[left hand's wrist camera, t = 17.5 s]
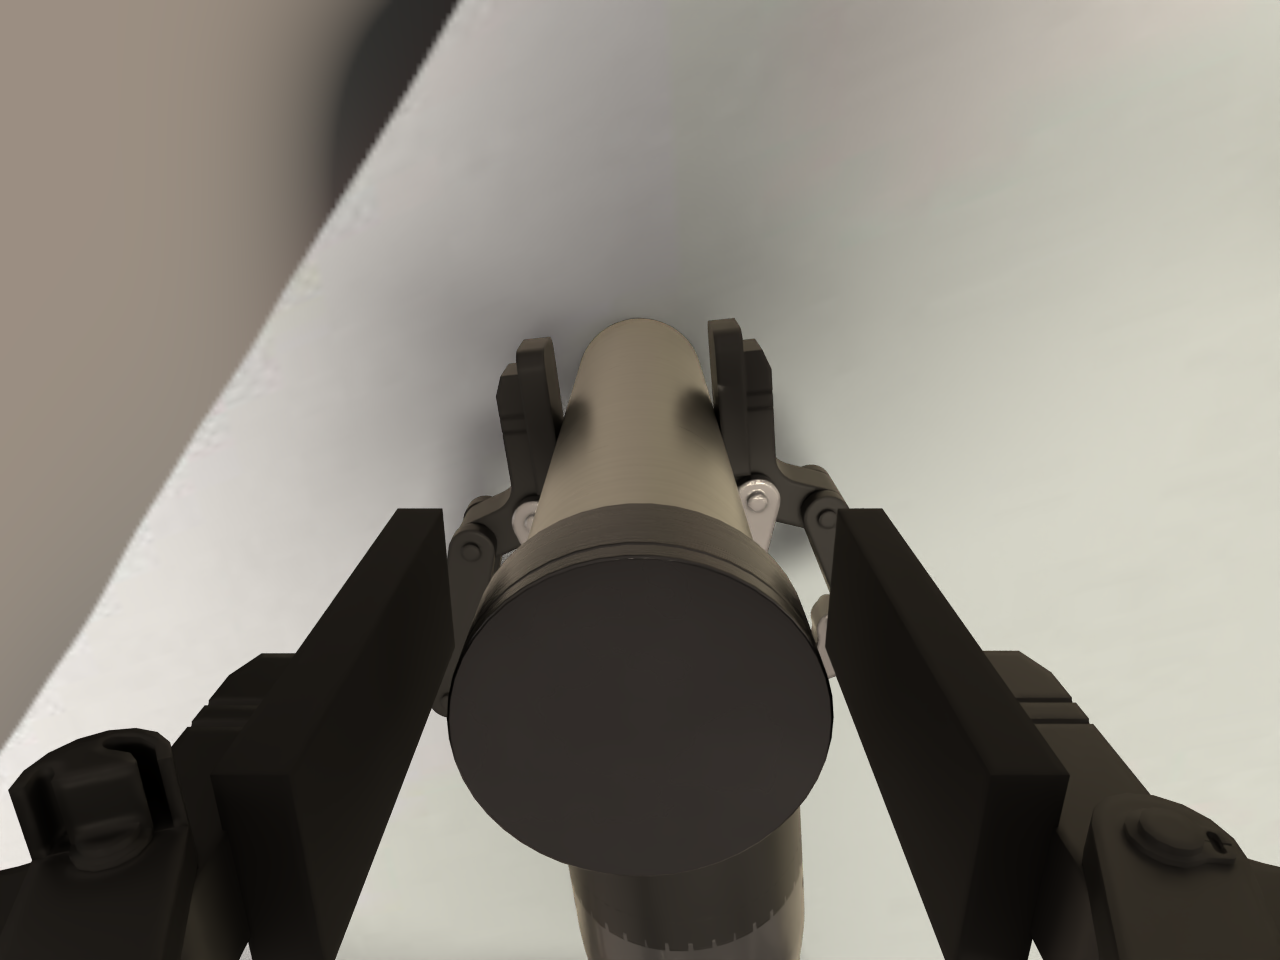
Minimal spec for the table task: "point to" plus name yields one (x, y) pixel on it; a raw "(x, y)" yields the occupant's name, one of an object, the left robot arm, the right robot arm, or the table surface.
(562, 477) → the cylinder
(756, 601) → the lid
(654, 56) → the table surface
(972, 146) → the table surface
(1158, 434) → the table surface
